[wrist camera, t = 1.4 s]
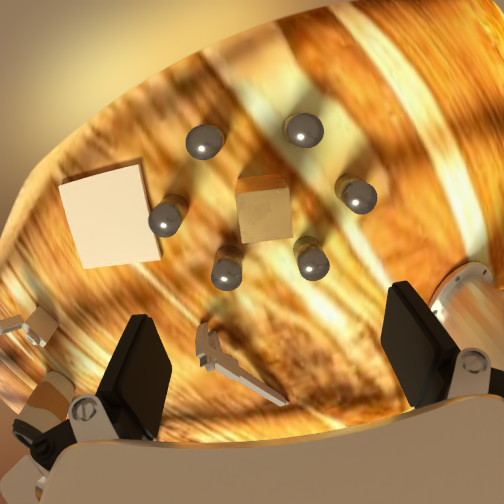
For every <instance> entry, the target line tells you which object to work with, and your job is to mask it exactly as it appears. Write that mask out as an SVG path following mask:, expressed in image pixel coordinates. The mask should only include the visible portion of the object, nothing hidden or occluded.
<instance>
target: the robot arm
mask: <svg viewBox="0 0 504 504" xmlns="http://www.w3.org/2000/svg"><path fill="white" fill-rule="evenodd" d="M381 345H382V347H383V349H384V351H385V353H386V355H387V357H388V359H389V362H390V364H391V366H392V368H393V370H394V372H395V374H396V376H397V378H398V380H399V383H400V385H401V387H402V389H403V391H404V393H405V396H406V398H407V400H408V402H409V404H410V406H411V407H413V406H414V407H415V410H412V411H409V412H406V413H402V414H399V415H395V416H392V417H388V418H385V419H381V420H377V421H374V422H370V423H366V424H362V425H357V426H353V427H348V428H344V429H339V430H333V431H328V432H323V433H317V434H311V435H304V436H297V437H289V438H281V439H272V440H261V441H247V442H226V443H183V442H159V441H153V438H156V437H157V435H158V431H159V426H160V421H161V417H162V412H163V408H164V403H165V399H166V395H167V390H168V386H169V382H170V378H171V374H172V365H171V362H170V360H169V358H168V355H167V353H166V351H165V348H164V346H163V344H162V341H161V339H160V337H159V334H158V332H157V329H156V327H155V324H154V322H153V320H152V318H151V317H148V316H147V315H146V314H138V315H132V316H131V318H130V320H129V322H128V324H127V326H126V328H125V330H124V332H123V334H122V336H121V338H120V340H119V343H118V345H117V347H116V349H115V351H114V353H113V355H112V358H111V360H110V362H109V364H108V366H107V369H106V371H105V373H104V375H103V378H102V380H101V382H100V385H99V387H98V389H97V392H96V394H95V396H94V395H90V394H88V395H83V396H80V397H78V398H77V399H75V400H74V401H73V402H72V403H71V405H70V407H69V410H68V416H69V419H67V420H65V421H64V422H62V423H60V424H58V425H57V426H55V427H53V428H51V429H49V430H48V431H46V432H44V433H42V434H41V435H39V436H38V437H36V438H35V439H34V441H33V442H32V444H31V448H30V453H31V455H30V456H28V455H25V456H24V457H23V458H22V459H21V460H20V461H19V462H18V463H17V464H16V465H15V466H14V467H13V468H12V469H11V470H10V471H9V472H8V473H7V474H6V475H5V476H4V477H3V478H2V480H1V482H0V491H1V493H2V495H3V497H4V499H5V500H6V502H7V503H8V504H504V289H503V290H499V289H498V288H496V287H495V286H494V285H493V276H492V273H491V271H490V270H489V268H488V267H486V266H485V265H484V264H482V263H480V262H470V263H466V264H464V265H462V266H460V267H459V268H457V269H455V270H454V271H453V272H452V273H451V274H449V275H448V276H447V277H446V278H445V280H444V281H443V282H442V283H441V284H440V286H439V287H438V288H437V290H436V292H435V293H434V295H433V297H432V299H431V301H430V303H429V306H427V304H426V303H425V302H424V301H423V299H422V298H421V297H420V296H419V294H418V293H417V292H416V291H415V290H414V288H413V287H412V286H411V285H410V283H409V282H408V281H400V282H395V283H393V284H392V287H389V289H388V295H387V302H386V309H385V315H384V321H383V327H382V333H381Z"/></svg>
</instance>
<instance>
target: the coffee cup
mask: <svg viewBox="0 0 504 504" xmlns="http://www.w3.org/2000/svg"><path fill="white" fill-rule="evenodd" d="M74 393H75V392H74V386H73V384H72V383H71V382H70V381H69V380H68V379H67V378H66V377H65V376H63V375H62V374H60V373H58V372H55V371H50V372H48V373H46V374H45V376H44V377H43V379H42V380H41V382H40V383H39V384H38V385H37V387H36V388H35V390H34V391H33V393H32V394H31V396H30V397H29V399H28V400H27V402H26V404H25V406H24V407H23V409H22V411H21V412H20V414H19V416H18V417H17V419H15V420H14V424H13V431H12V433H13V435H14V436H15V437H16V438H17V439H18V440H19V441H20V442H21V443H22V444H24V445H25V446H26V447H28V448H29V449H30V448H31V444H32V442H33V441H34V439H35V438H36V437H38V436H39V435H41V434H42V433H44V432H46V431H48V430H49V429H51V428H53V427H55V426H57V425H58V424H60V423H62V422H64V421H65V420H66V417H67V414H68V410H69V407H70V404H71V401H72V398H73V396H74Z"/></svg>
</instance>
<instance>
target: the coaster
mask: <svg viewBox="0 0 504 504" xmlns="http://www.w3.org/2000/svg"><path fill="white" fill-rule="evenodd" d="M58 187H59V191H60V195H61V198H62V202H63V206H64V209H65V213H66V216H67V220H68V223H69V227H70V230H71V233H72V236H73V239H74V242H75V245H76V248H77V251H78V254H79V257H80V260H81V262H82V265H83V268H84V269H89V268H97V267H105V266H113V265H121V264H130V263H138V262H146V261H154V260H161V258H162V255H161V251H160V248H159V244H158V240H157V236H156V234H154V233H153V232H152V231H151V229H150V227H149V224H148V217H149V214H150V213H151V212H150V207H149V203H148V199H147V194H146V189H145V185H144V180H143V175H142V170H141V165H140V164H136V165H132V166H127V167H123V168H119V169H115V170H111V171H107V172H104V173H100V174H96V175H93V176H89V177H85V178H82V179H79V180H75V181H72V182H69V183H65V184H62V185H60V186H58Z"/></svg>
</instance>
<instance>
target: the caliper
mask: <svg viewBox="0 0 504 504" xmlns="http://www.w3.org/2000/svg"><path fill="white" fill-rule="evenodd" d="M195 344H196V356H197V357H198V358H200V367H203V366H205V367H206V369H207V372H209V371H212V370H214V369H215V370H217V371H218V372H220V373H222V374H223V375H225V376H226V377H228V378H230V379H231V380H233V381H234V380H237V381H239V382H240V383H242V384H243V385H245V386H247V387H248V388H250V389H252V390H253V391H255V392H257V393H258V394H260V395H262V396H263V397H265V398H267V399H268V400H270V401H272V402H274V403H275V404H277V405H279V406H283V405H286V404H288V403H289V401H287V400H286V399H285V398H284V397H283V396H282V395H281V394H280V393H278V392H277V391H275V390H274V389H272V388H270V387H269V386H267V385H266V384H264V383H263V382H261V381H260V380H258V379H257V378H255V377H254V376H252V375H251V374H249V373H248V372H247V371H245V370H244V369H242V368H241V367H239V364H238V361H237V360H236V359H234V358H233V357H232V356H231V355H228V354H224V353H223V352H222V349H221V346H220V342H219V339H218V335H217V332H216V331H215V330H213V331H211V332H209V333H208V323H206V322H204V323H203V324H201V325H199V326H198V329H197V335H196V340H195Z"/></svg>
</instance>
